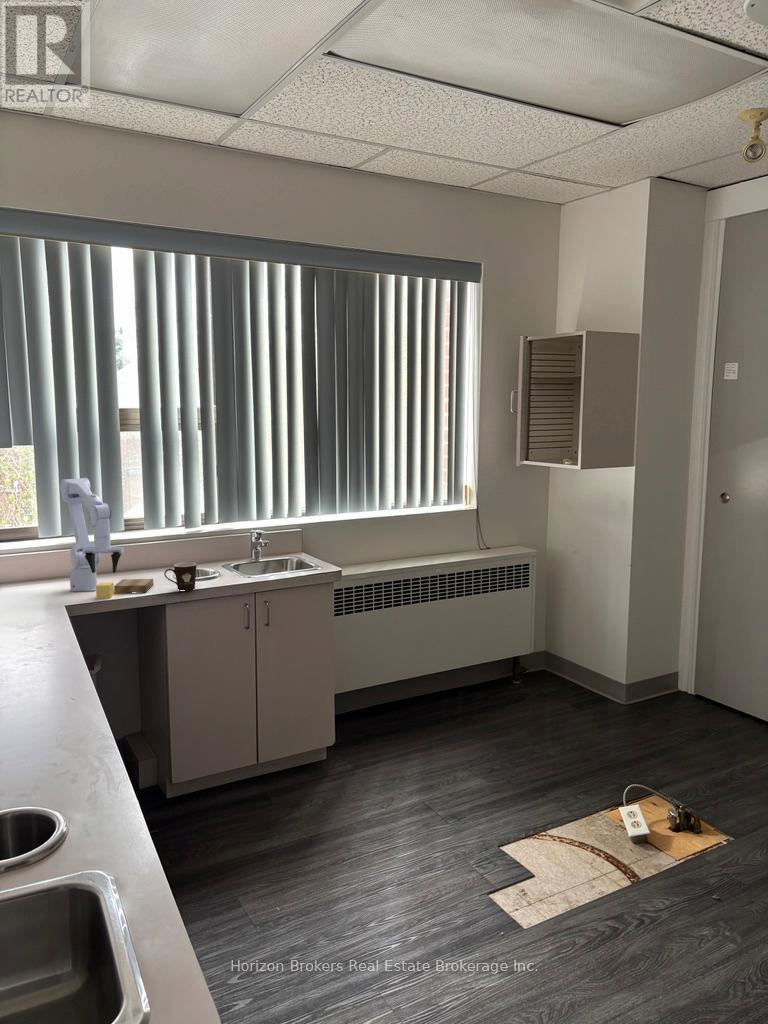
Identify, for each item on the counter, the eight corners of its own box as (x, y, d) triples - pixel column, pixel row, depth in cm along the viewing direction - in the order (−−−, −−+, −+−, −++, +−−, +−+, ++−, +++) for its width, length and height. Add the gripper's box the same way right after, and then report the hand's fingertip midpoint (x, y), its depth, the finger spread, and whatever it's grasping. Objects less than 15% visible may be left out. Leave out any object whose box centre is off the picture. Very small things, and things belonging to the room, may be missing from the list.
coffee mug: (200, 587, 305) (199, 562, 304) (193, 592, 297) (192, 566, 296) (172, 587, 307) (171, 562, 305) (164, 592, 298) (162, 566, 297)
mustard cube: (96, 598, 289) (95, 585, 288) (100, 595, 294) (99, 582, 293) (110, 598, 289) (109, 585, 288) (114, 595, 294) (113, 582, 293)
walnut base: (114, 593, 296) (114, 586, 296) (123, 586, 308) (122, 579, 308) (146, 592, 297) (145, 585, 297) (153, 586, 309) (153, 578, 309)
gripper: (78, 538, 284) (81, 574, 286) (119, 537, 285) (121, 573, 287) (84, 535, 291) (87, 571, 293) (124, 534, 292) (126, 570, 294)
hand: (104, 572), depth 290 cm, fingers open, 7 cm apart
